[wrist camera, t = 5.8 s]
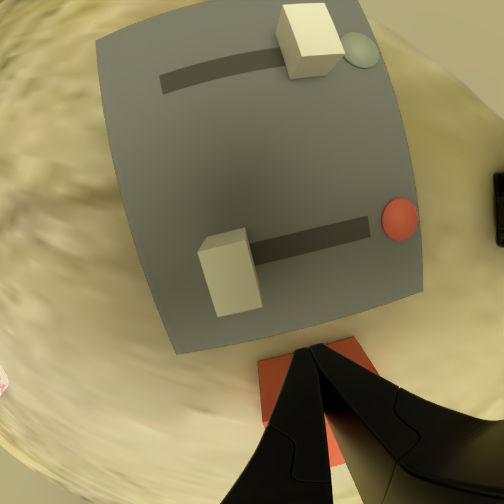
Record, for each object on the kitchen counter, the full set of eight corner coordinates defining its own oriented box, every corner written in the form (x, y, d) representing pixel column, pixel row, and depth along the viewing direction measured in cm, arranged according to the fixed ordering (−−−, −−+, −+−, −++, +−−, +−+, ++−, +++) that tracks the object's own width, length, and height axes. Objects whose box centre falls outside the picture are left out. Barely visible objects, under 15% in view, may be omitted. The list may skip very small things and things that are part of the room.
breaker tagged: (244, 227, 14) (245, 240, 11) (258, 282, 15) (262, 307, 12) (206, 236, 14) (197, 252, 11) (222, 290, 15) (217, 317, 12)
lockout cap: (354, 336, 19) (387, 387, 13) (357, 401, 21) (380, 450, 15) (257, 361, 19) (262, 422, 14) (276, 422, 21) (283, 477, 15)
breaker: (310, 30, 12) (324, 2, 9) (326, 75, 13) (345, 53, 10) (275, 33, 12) (282, 4, 9) (290, 79, 13) (301, 56, 10)
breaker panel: (341, 7, 13) (353, -13, 11) (404, 278, 18) (425, 292, 16) (111, 54, 14) (93, 39, 11) (183, 334, 19) (175, 357, 16)
